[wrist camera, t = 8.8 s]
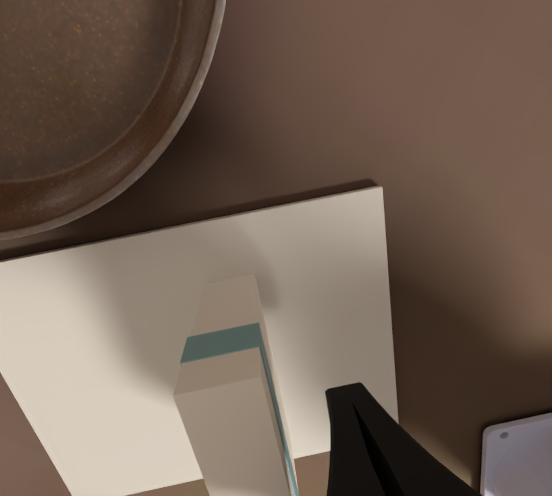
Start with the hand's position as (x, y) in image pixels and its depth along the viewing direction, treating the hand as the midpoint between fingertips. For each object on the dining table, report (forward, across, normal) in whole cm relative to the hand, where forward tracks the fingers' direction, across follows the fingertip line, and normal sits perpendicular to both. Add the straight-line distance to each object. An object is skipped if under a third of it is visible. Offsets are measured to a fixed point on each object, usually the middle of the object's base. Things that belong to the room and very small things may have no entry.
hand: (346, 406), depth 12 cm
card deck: (+4, +4, 0) cm, 5 cm away
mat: (+4, +6, 0) cm, 7 cm away
